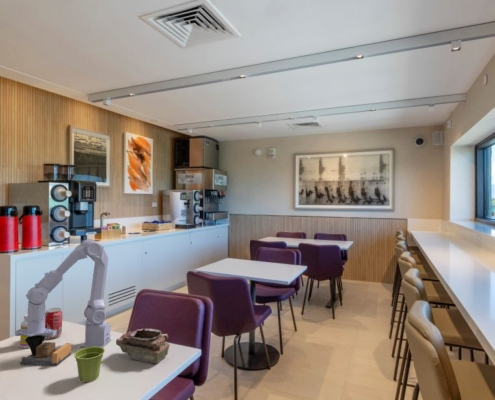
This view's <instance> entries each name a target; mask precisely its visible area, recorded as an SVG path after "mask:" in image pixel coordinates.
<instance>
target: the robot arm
mask: <svg viewBox="0 0 495 400" xmlns="http://www.w3.org/2000/svg"><path fill="white" fill-rule="evenodd" d="M88 257H89V258H90V259H91V260H92V261H93V262H94V268H93V273H92V282H91V290H90V298H89V300H88V302H87V306H86V307H85V308H84V313H83V315H84V317H85V319H86V321H85V325H84V327H85V329H84V332H85V333H84V335H85V337H84V342H83V343H82V344H81V345H80V347H81V348H88V347H102V348H104V347H105V346H106V345H107V344H109V343H110V342H111V341H112V339H111V326H112V325H111V323H110V322H106V321H105V320H106V317H107V312H106V310H105V309H106V305H105V301H104V296H105V290H106V282H107V272H108V264H109V256H108V255H107V253H106V250H105V247H104V246H103V244H101V242H99V241H96V240H95V241H94V240H92V239H85V240H82V241H81V243H80V244H78V245H77V246H76V247H75V248H74V249H73V250H72V251H71V253H70V254H69V255H68V256H66V258H65V259H64V260H63V261H62V262H61V264H60V265H58V266H57V268H56V269H54V270H49V272H47V271H46V272H45V273H44V277H42V278H41V279H40V280H39V281H38V282H37V283H35V284H34V286H33V287H31V288H30V289H29V290H28V291H27V294H25V297H26V298H27V300H28V301H27V314H28V316H27V329H21V328H20V329H17V330H16V331H15V337H21V336H28V337H27V338H26V339H25V341H26V342H27V344H28V345H29V347H30V348H29V349H30V353H31V354H32V356H36V347H37V346H39V345H41V344H42V343H44V342H45V341H44V340H45V339H46V338H45V337H46V336H50V337H54V336H55V335H56V330H51V329H47V328H45V313H46V301H47V299H48V296H49V294H50V293H51V292H52V291H53V290H54V289H56V287H57V286H58V285H59V284H60V283H61V282H62V281H63V276H64V275H65V273H67V271H68V270H70V268H71V267H73V266H74V265H75V264H76V263H77V262H78V261H79V260H80V261H81V260H84V259H88Z"/></svg>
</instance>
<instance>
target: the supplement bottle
mask: <svg viewBox="0 0 495 400" xmlns="http://www.w3.org/2000/svg"><path fill="white" fill-rule="evenodd" d="M27 316H28V313H26V314H24V315H23V319H24V320H23V321H22V322H20V329H27ZM27 337H28V336H19V338H20V340H19V344H20V345H19V346H20V347H21V348H22V349H30V347H29V345H28V344H27V342H26V341H25V339H26V338H27Z"/></svg>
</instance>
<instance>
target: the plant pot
mask: <svg viewBox="0 0 495 400" xmlns="http://www.w3.org/2000/svg"><path fill="white" fill-rule="evenodd" d="M105 352H106V349H105V348H104V347H83V348H81V349H79V350H77V351H76V352H75V353H74V354H73V355H74V356H73V357H74V359H75V361H76V365H77V374H78V380H79V382H81V383H83V382H86V383H91V382H94V381H95V380H97V379H98V377H100V372H101V365H102V359H103V357H104V354H105Z"/></svg>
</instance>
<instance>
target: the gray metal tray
mask: <svg viewBox="0 0 495 400" xmlns="http://www.w3.org/2000/svg"><path fill="white" fill-rule="evenodd" d="M56 350H57V349H55V351H56ZM70 356H72V352H71V353H69V354H68V355H67V356H66V357H64V358H63V359H62V360H60V361H59V362H58V363H52V357H36V356H32V353H31V354H30V355H29V356H22V357H21V359H20V360H21V361H19V366H44V367H46V366H47V367H48V366H50V367H58V366H59V365H60V364H62V362H64V361H65V360H66V359H68V358H69V357H70ZM59 359H60V358H59Z"/></svg>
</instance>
